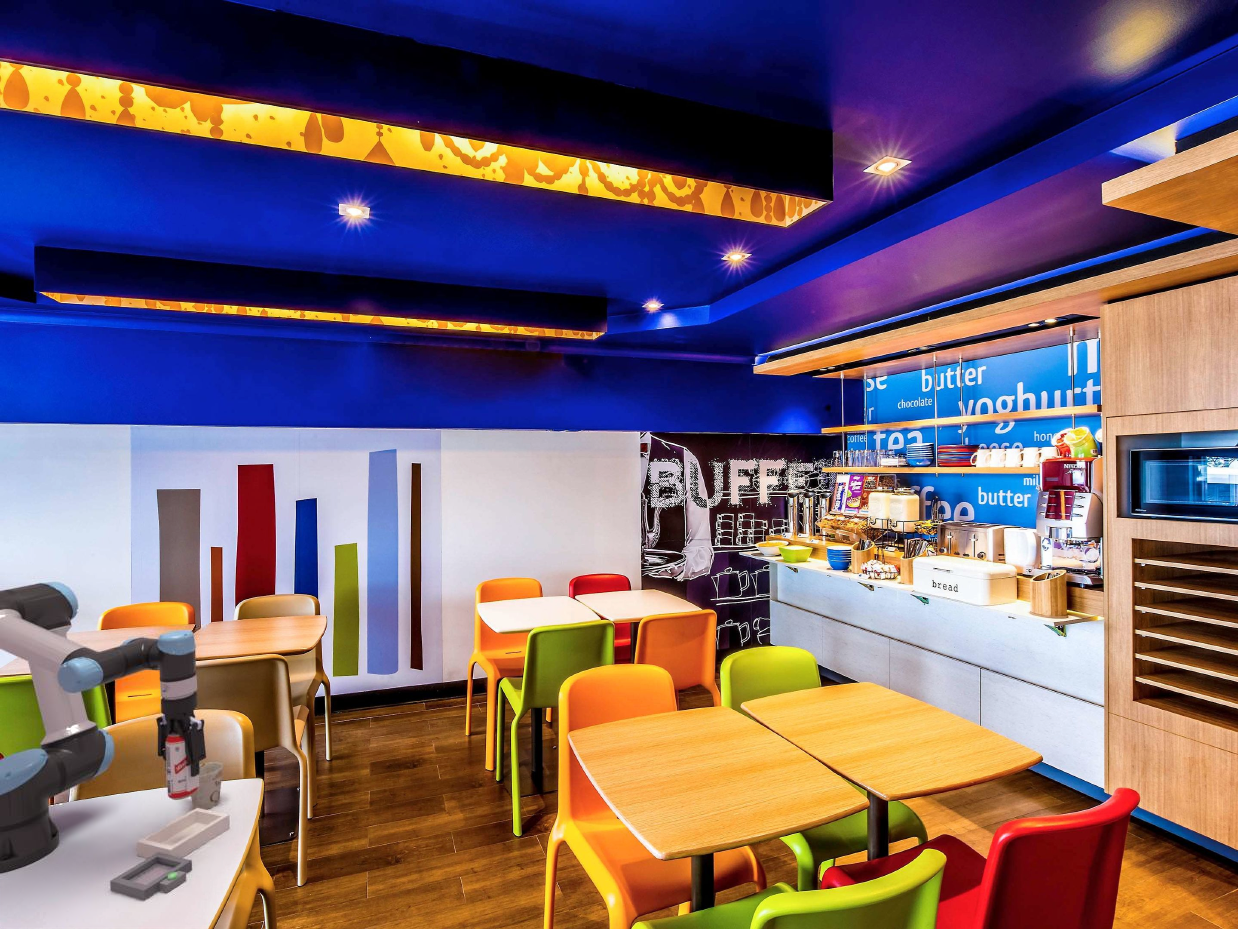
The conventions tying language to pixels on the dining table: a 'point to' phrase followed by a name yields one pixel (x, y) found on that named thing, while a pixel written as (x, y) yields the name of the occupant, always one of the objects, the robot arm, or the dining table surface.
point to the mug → (208, 786)
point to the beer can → (177, 768)
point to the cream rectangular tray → (184, 834)
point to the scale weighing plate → (151, 874)
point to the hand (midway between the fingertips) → (183, 786)
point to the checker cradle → (160, 884)
